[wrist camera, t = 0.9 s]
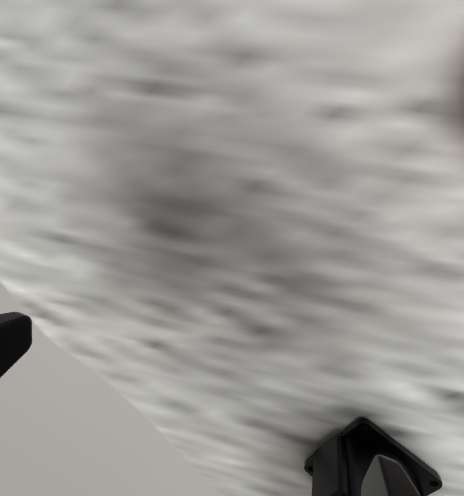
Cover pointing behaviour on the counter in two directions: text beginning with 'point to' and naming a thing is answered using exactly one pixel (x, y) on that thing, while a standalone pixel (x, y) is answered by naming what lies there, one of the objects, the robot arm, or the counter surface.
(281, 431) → the counter surface
